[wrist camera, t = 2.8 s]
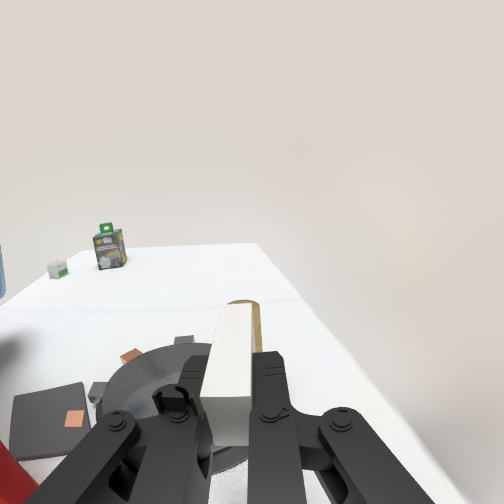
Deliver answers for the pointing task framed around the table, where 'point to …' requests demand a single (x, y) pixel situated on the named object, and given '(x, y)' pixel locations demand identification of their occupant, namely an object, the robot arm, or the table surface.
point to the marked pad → (48, 422)
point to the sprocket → (156, 374)
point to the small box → (57, 269)
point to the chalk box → (109, 247)
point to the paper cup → (14, 480)
